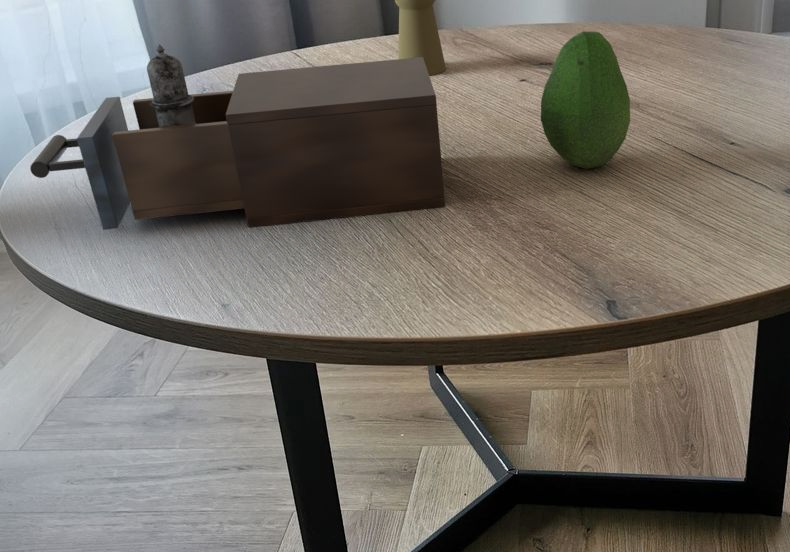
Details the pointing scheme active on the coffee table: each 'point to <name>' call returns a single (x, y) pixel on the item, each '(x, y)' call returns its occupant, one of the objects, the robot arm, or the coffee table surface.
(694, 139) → the coffee table surface
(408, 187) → the cabinet
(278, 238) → the coffee table surface
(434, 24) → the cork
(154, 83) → the salt shaker
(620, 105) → the fruit
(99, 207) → the drawer
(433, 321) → the coffee table surface
